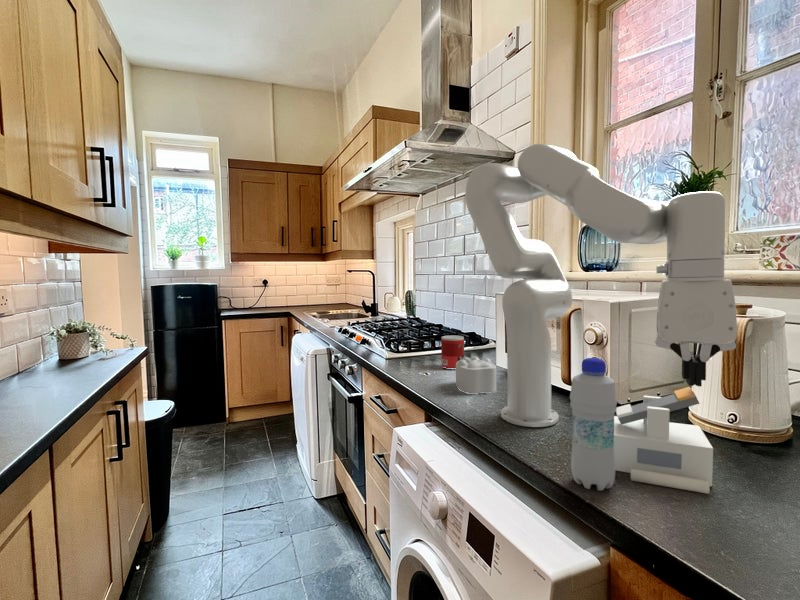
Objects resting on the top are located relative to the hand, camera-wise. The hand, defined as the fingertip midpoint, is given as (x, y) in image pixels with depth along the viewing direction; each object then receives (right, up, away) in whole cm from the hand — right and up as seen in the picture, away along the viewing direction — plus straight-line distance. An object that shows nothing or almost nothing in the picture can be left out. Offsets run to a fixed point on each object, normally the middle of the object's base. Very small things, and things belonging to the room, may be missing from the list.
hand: (693, 383), depth 67 cm
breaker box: (-4, -15, +3) cm, 15 cm away
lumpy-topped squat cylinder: (-26, -12, +52) cm, 60 cm away
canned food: (-29, -10, +78) cm, 84 cm away
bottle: (-18, -15, -2) cm, 23 cm away
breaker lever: (-4, -5, +3) cm, 7 cm away
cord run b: (-7, -15, -4) cm, 17 cm away
